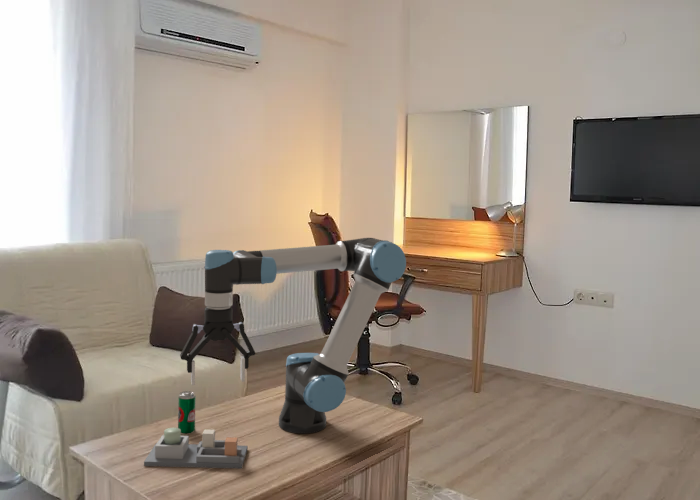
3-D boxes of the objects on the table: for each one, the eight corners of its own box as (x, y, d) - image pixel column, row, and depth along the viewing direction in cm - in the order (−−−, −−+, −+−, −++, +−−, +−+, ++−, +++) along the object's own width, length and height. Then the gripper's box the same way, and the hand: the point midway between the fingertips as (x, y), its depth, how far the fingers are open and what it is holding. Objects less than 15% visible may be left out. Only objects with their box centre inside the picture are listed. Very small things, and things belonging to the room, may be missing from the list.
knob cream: (214, 446, 181) (215, 429, 180) (212, 451, 178) (213, 433, 177) (204, 446, 181) (204, 429, 180) (202, 450, 178) (202, 433, 177)
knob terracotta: (237, 454, 176) (237, 437, 175) (235, 459, 173) (236, 441, 172) (226, 454, 176) (226, 437, 175) (224, 459, 173) (224, 441, 172)
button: (182, 438, 178) (182, 427, 178) (178, 444, 174) (178, 434, 173) (166, 437, 178) (166, 427, 178) (162, 444, 174) (162, 433, 173)
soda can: (190, 435, 191) (191, 396, 190) (174, 433, 192) (175, 395, 191) (197, 429, 196) (198, 391, 195) (182, 427, 197) (183, 389, 196)
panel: (247, 449, 183) (247, 434, 183) (241, 468, 171) (242, 452, 171) (156, 447, 182) (156, 431, 182) (143, 465, 170) (144, 449, 170)
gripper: (260, 302, 182) (259, 374, 185) (170, 305, 174) (170, 381, 176) (266, 307, 175) (265, 382, 178) (172, 311, 167) (172, 389, 169)
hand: (217, 381), depth 177 cm, fingers open, 13 cm apart
